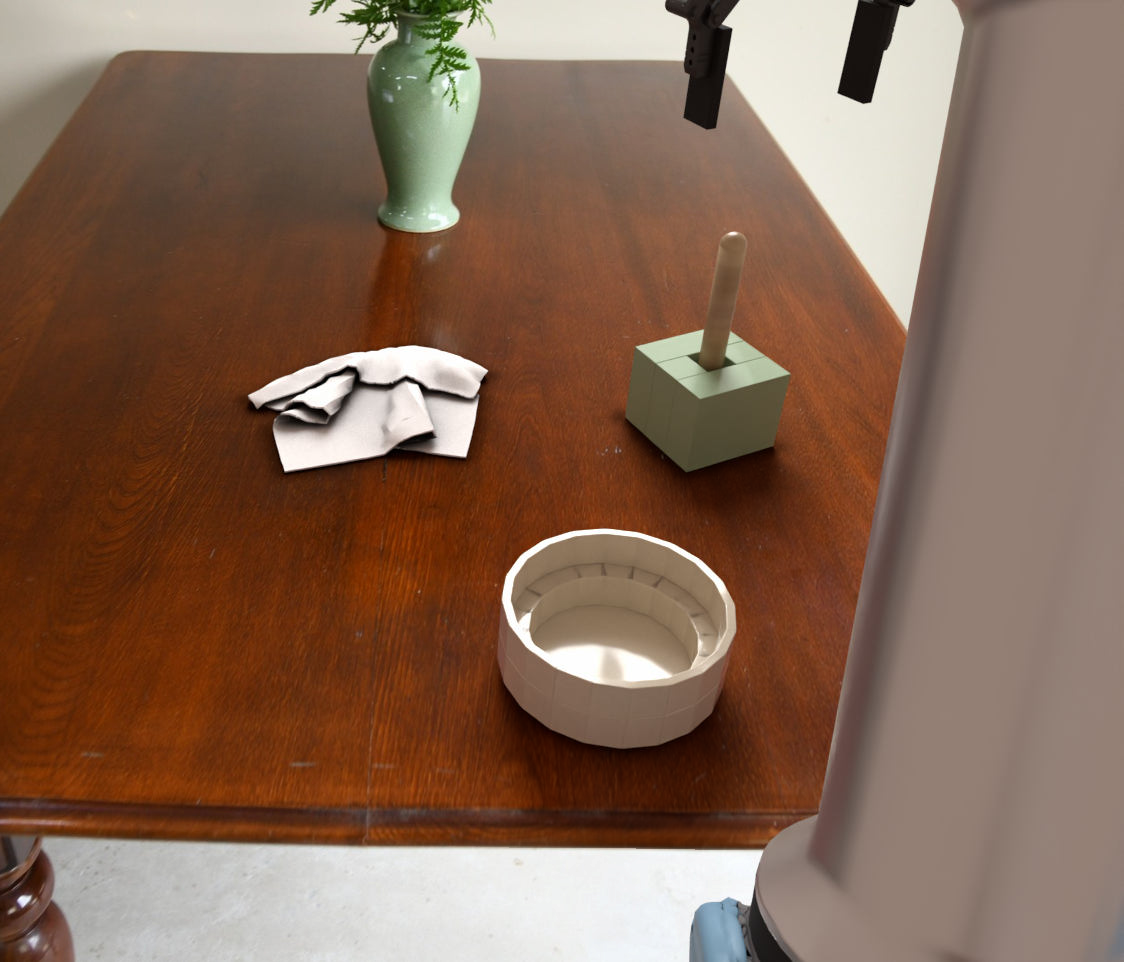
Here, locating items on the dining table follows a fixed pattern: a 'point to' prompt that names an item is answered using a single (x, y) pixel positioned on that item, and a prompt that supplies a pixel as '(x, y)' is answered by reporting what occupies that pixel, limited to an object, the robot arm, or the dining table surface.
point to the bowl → (615, 637)
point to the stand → (705, 400)
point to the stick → (722, 301)
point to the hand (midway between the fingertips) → (778, 110)
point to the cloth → (374, 406)
